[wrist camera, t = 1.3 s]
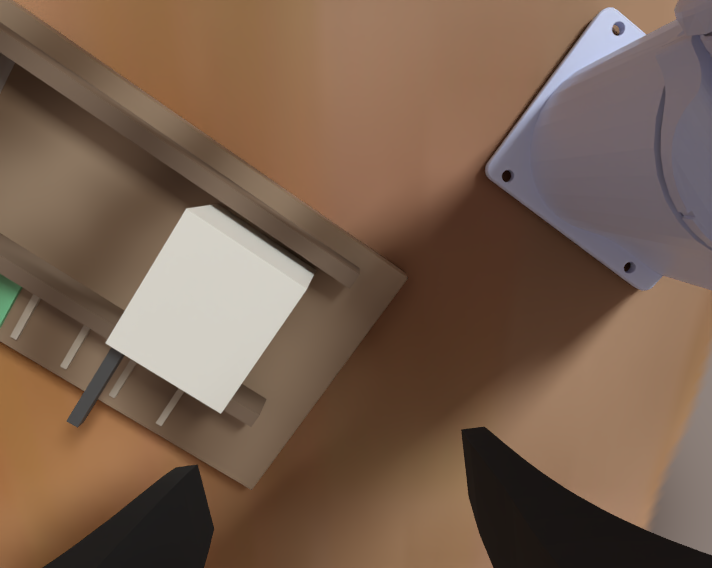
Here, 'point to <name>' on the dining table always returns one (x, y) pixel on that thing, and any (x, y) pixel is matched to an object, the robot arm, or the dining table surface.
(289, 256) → the white block with bar
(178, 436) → the gauge board
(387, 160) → the dining table surface
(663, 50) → the robot arm
